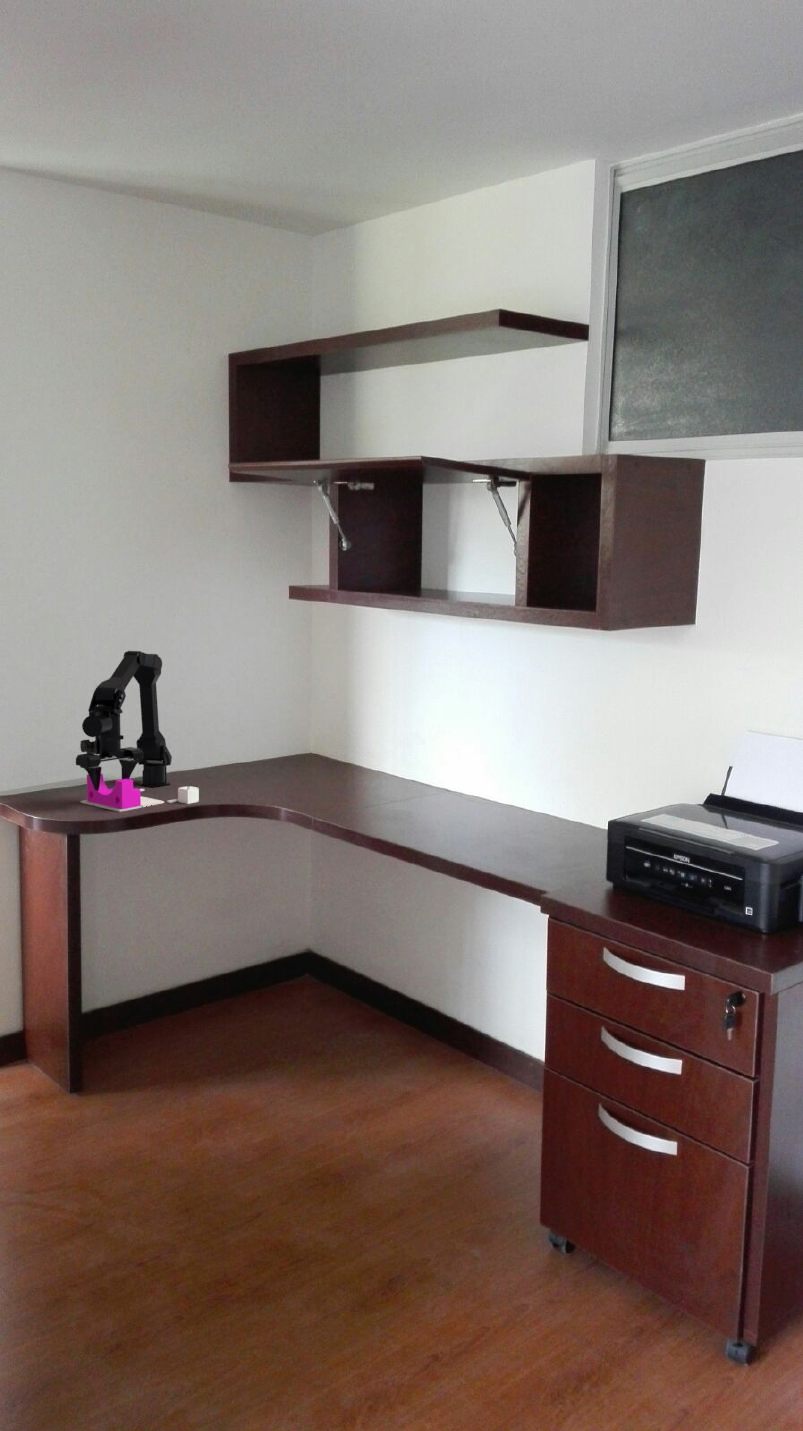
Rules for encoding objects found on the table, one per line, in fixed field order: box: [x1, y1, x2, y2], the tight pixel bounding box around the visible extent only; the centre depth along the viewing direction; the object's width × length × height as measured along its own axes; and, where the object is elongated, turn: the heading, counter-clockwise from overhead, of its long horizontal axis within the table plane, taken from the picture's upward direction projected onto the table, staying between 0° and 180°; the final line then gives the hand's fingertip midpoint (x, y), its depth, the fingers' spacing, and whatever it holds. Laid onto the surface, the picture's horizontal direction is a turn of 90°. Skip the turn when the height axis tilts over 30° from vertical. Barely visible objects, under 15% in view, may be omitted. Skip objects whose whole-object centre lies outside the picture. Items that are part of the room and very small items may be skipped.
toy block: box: [86, 773, 142, 809], centre depth 324 cm, size 15×6×8 cm, turn 52°
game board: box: [80, 788, 178, 813], centre depth 331 cm, size 22×19×1 cm
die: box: [177, 785, 200, 805], centre depth 331 cm, size 4×4×4 cm
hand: (110, 788), depth 324 cm, fingers open, 9 cm apart
